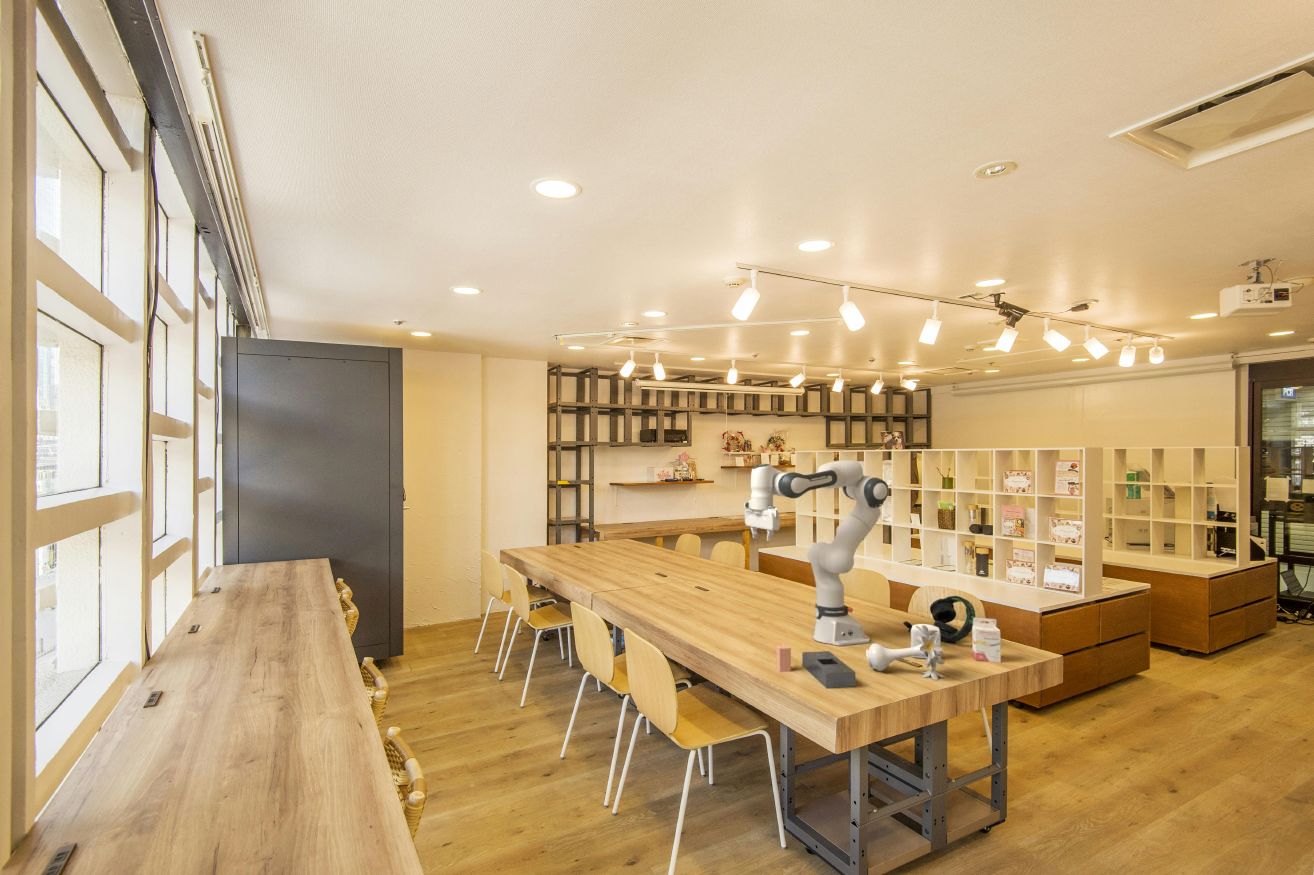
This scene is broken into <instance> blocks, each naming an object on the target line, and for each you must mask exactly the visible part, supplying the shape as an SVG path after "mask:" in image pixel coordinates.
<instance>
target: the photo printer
mask: <svg viewBox="0 0 1314 875" xmlns="http://www.w3.org/2000/svg"><path fill="white" fill-rule="evenodd" d="M911 625H912V624H911ZM922 625H925V626H926V627H927V628H928V632H929V631H930V630H936V631H938V632H936V633H935V634H937V635H932V636H937V638H938V639H939V640H938V641H937V642H936V643H935V644H934V645H938V646H940V647H941V648H942V646H941V641H942V640H941V637H940V631H939V628H938V627H936V626H934V624H933V625H932V624H927V623H919V624H918V623H916V624H913V625H912V629H911V633H910V647H914V646H917V645H920V644H921V643H919V642H917V641H916V637H921V638H922V636H923V633H922V632H921V631H920V630H919V629H918V628H917V627H916V626H918V627H920V628H921V629H922ZM930 638H931V635H930V636H929V639H930ZM927 652H928V651H927ZM936 652H937V651H936ZM911 658H917V659H925V660H926V659H927V658H928V657H927V656H926V657H923V656H912V657H911ZM939 658H941V659H942V655H941V656H939Z"/></svg>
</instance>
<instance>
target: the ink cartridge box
mask: <svg viewBox="0 0 1314 875" xmlns="http://www.w3.org/2000/svg"><path fill="white" fill-rule="evenodd" d="M971 632H972V633H971V634H972V636H971V637H972V641H971V642H972V646H971V647H972V657H973V658H974V660H975V661H978V662H990V663H1001V662H1002V660H1001V659H1002V658H1001V655H1002V654H1001V652H1002V651H1001V647H1002V646H1001V645H1002V644H1001V641H1002V640H1001V630H1000V629H999V628H998V627H997V619H996V618H985V617H983V618H982V617H975V618H973V626H972V630H971Z"/></svg>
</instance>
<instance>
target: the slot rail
mask: <svg viewBox="0 0 1314 875" xmlns="http://www.w3.org/2000/svg"><path fill="white" fill-rule="evenodd" d="M801 653H802V654H801V656H802V657H801V658H802V659H801V660H802V661H801V662H802V664H801V665H802V667H803V668H804V669H805V670H806V671H807V672H808V673H810V674H811V676H813V677H814V679H816V680H817V681H818V682H819V683H820V684H821V685H822V686H823V687H824V688H825V689H836V688H837V689H839V688H841V689H842V688H856V686H857V685H856V679H857V678H856V671H855V670H854V669H852V668H851V667H850V666H848V665H847V664H846V663H845V662H844V661H842V660H841V659H840V658H838V657H837V656H835V654H833V653H832V652H831V651H829V650H826V651H805V652H804V651H801Z"/></svg>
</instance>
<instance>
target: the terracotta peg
mask: <svg viewBox="0 0 1314 875" xmlns="http://www.w3.org/2000/svg"><path fill="white" fill-rule="evenodd" d="M775 648H776V649H775V653H776V654H775V657H776V661H775V662H776V666H775V668H776V669H777V670H778V672H779V673H782V672H792V655H791V654H792V648H791V647H790V646H789V645H788V644H781V645H780V644H778V645H775Z"/></svg>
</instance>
